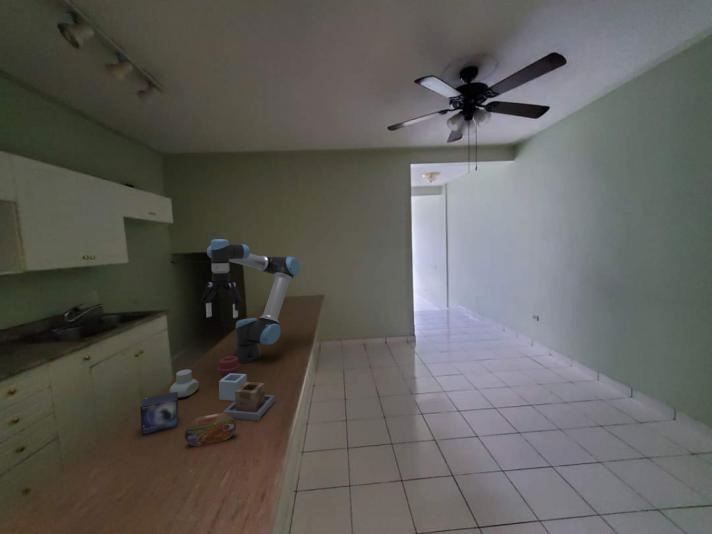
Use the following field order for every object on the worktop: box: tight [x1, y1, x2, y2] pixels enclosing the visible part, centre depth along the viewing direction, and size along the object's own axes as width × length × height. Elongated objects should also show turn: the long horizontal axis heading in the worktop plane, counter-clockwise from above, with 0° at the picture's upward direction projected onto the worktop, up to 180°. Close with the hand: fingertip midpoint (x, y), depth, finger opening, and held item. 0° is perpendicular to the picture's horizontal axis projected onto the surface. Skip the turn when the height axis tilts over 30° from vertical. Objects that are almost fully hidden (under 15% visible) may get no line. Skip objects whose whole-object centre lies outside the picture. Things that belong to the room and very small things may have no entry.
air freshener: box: [169, 368, 200, 398], centre depth 123 cm, size 11×8×10 cm
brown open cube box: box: [235, 381, 266, 412], centre depth 111 cm, size 8×8×8 cm
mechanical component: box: [216, 355, 241, 380], centre depth 134 cm, size 12×10×10 cm
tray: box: [222, 394, 276, 422], centre depth 111 cm, size 14×14×2 cm
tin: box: [184, 412, 237, 447], centre depth 92 cm, size 15×3×8 cm, turn 108°
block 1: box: [218, 373, 248, 402], centre depth 122 cm, size 8×8×8 cm
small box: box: [139, 392, 180, 436], centre depth 100 cm, size 11×6×10 cm, turn 117°
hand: (222, 317), depth 133 cm, fingers open, 13 cm apart
